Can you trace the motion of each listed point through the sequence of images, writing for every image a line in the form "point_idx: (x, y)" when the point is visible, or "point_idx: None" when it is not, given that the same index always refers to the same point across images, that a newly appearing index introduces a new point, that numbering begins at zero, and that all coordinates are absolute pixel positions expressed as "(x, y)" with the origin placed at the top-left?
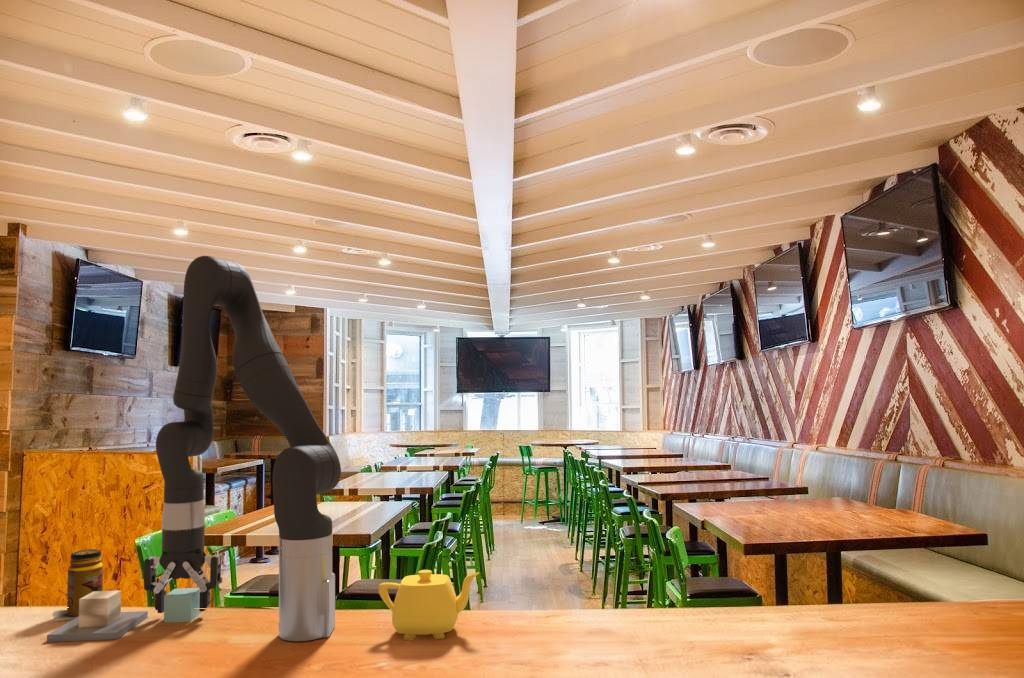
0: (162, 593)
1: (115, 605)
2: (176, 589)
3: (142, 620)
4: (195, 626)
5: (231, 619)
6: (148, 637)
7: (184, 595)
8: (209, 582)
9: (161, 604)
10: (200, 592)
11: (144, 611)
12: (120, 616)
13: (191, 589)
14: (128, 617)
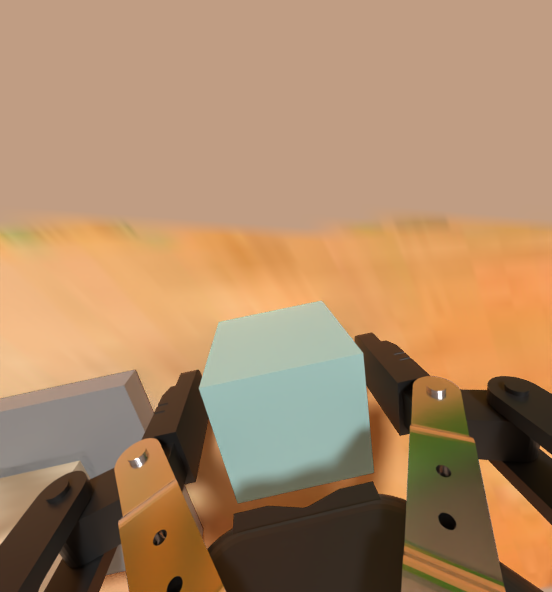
0: (191, 470)
1: (58, 561)
2: (222, 401)
3: (149, 405)
4: (372, 422)
5: (465, 352)
6: (282, 506)
7: (339, 478)
8: (484, 447)
9: (204, 432)
10: (404, 434)
11: (113, 390)
12: (77, 464)
13: (320, 391)
14: (112, 456)
